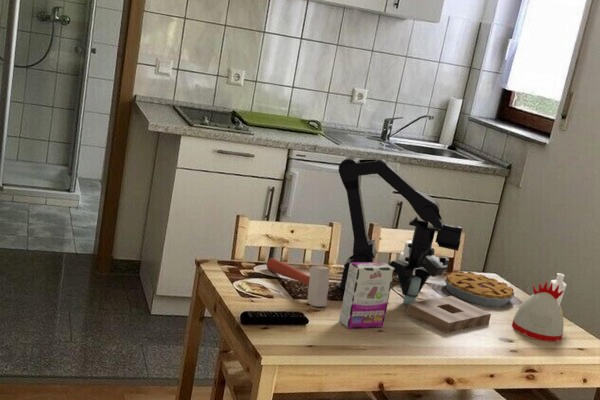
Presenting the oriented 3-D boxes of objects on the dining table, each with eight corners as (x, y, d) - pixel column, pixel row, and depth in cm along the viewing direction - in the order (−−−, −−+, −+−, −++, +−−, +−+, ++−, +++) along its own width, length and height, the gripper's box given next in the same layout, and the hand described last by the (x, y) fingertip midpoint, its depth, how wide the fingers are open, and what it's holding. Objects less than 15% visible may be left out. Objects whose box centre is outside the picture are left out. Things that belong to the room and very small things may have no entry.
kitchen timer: (560, 346, 209) (574, 294, 205) (510, 331, 213) (522, 281, 210) (562, 330, 221) (574, 282, 218) (514, 317, 226) (526, 269, 222)
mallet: (266, 248, 228) (320, 268, 202) (277, 248, 229) (331, 268, 204) (263, 283, 228) (315, 307, 203) (273, 283, 230) (327, 307, 205)
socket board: (446, 333, 202) (448, 323, 201) (406, 313, 212) (408, 303, 211) (488, 323, 216) (491, 313, 215) (449, 305, 226) (451, 295, 225)
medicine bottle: (417, 276, 249) (425, 241, 246) (419, 283, 242) (427, 247, 239) (396, 272, 249) (403, 237, 247) (396, 278, 242) (404, 242, 240)
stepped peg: (409, 307, 217) (415, 281, 216) (398, 302, 220) (404, 276, 218) (418, 305, 220) (424, 279, 218) (407, 300, 223) (413, 274, 221)
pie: (429, 287, 240) (432, 272, 239) (467, 280, 256) (471, 266, 255) (487, 313, 226) (491, 297, 225) (525, 304, 241) (528, 289, 240)
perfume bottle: (556, 321, 229) (569, 274, 226) (556, 325, 225) (569, 278, 221) (540, 317, 230) (553, 270, 227) (540, 321, 226) (552, 273, 223)
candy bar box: (373, 320, 202) (385, 261, 199) (383, 327, 198) (396, 268, 195) (337, 321, 197) (349, 261, 193) (347, 329, 193) (359, 267, 189)
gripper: (423, 254, 204) (411, 308, 207) (464, 249, 217) (452, 300, 220) (392, 241, 212) (381, 293, 215) (433, 237, 225) (422, 287, 228)
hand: (410, 294), depth 219 cm, fingers open, 5 cm apart
